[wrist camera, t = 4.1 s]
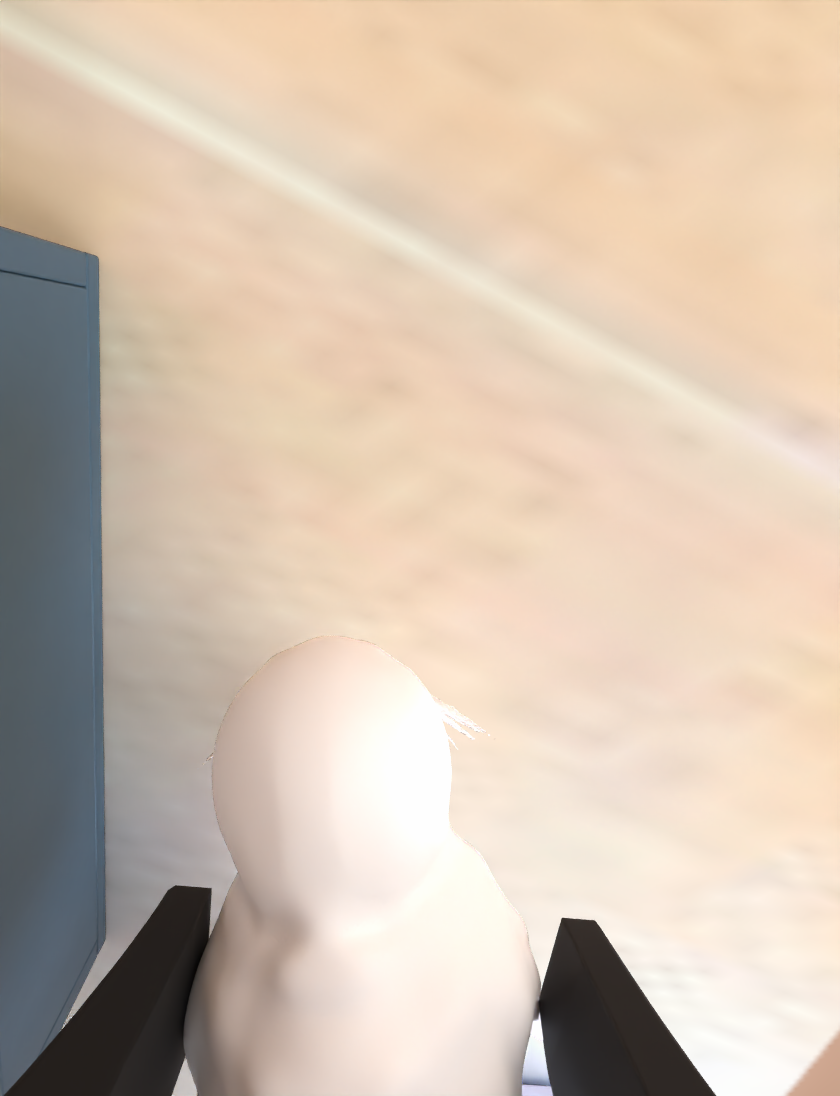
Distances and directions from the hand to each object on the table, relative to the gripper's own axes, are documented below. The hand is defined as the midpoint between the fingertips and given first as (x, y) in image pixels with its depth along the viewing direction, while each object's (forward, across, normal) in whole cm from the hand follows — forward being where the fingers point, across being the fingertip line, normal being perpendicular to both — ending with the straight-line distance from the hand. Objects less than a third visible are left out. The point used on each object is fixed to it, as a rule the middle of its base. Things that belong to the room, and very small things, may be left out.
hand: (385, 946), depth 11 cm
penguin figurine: (+3, 0, 0) cm, 3 cm away
